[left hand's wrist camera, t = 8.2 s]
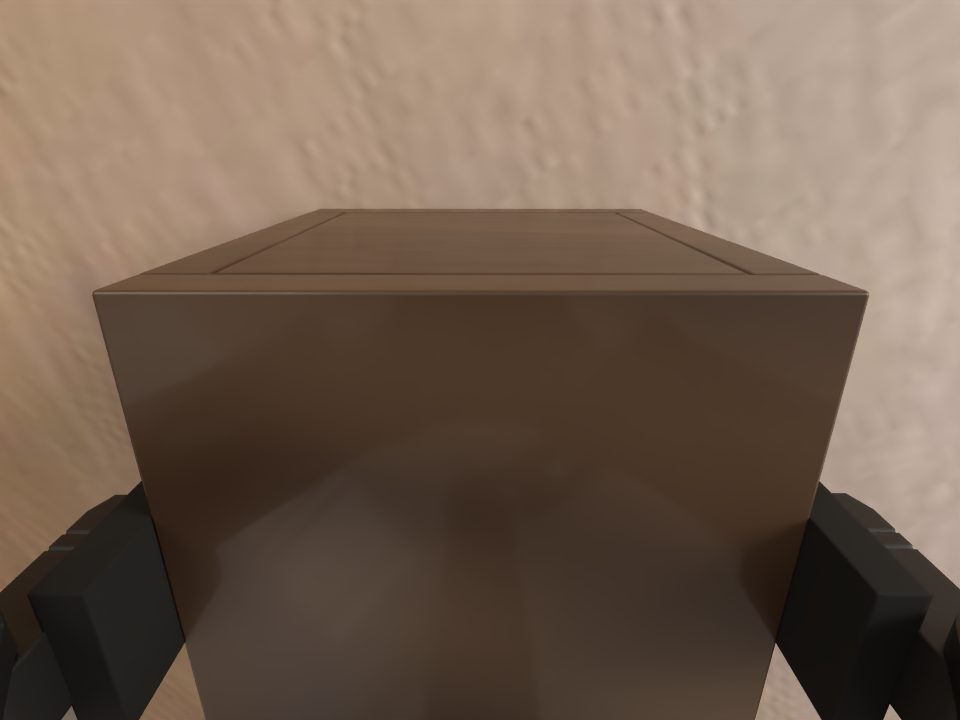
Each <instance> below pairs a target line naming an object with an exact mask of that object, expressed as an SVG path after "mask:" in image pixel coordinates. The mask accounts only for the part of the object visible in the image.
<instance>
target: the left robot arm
mask: <svg viewBox="0 0 960 720" xmlns="http://www.w3.org/2000/svg"><path fill="white" fill-rule="evenodd" d="M184 643H185V640H184V637H183V633H182V629H181V626H180V622H179V618H178V614H177V611H176V607H175V603H174V599H173V596H172V592H171V588H170V584H169V581H168V577H167V573H166V569H165V566H164V562H163V558H162V554H161V551H160V547H159V543H158V539H157V536H156V532H155V528H154V524H153V521H152V517H151V513H150V509H149V506H148V502H147V498H146V494H145V491H144V487H143V483H142V481H141V482H140V483H139V484H138V485H137V486H136V487H135V488H134V489H133V490H132V491H131V492H130V493H129V494H128V495H115V496H113V497H111V498H109V499H108V500H106V501H104V502H103V503H101V504H99V505H97V506H96V507H94V508H92V509H91V510H89V511H87V512H86V513H85V514H84V515H83V516H82V517H81V518H80V519H79V520H78V521H77V522H75V523H74V524H73V525H72V526H71V527H70V528H69V529H68V530H67V533H66V535H62V536H60V537H59V538H58V539H57V540H56V541H55V542H54V543H53V544H52V545H51V546H50V547H49V551H44V552H43V553H42V554H41V555H40V556H39V557H38V558H37V559H36V560H35V561H34V562H33V563H31V564H30V565H29V566H28V567H27V568H26V569H25V570H24V571H23V572H22V573H21V574H20V575H19V576H18V577H16V578H15V579H14V580H13V581H12V582H11V583H10V584H9V585H8V586H7V587H6V588H5V589H4V590H2V591H1V592H0V720H61V719H62V718H63V717H64V715H65V714H66V712H67V711H68V710H69V708H70V707H71V706H72V707H73V710H74V712H75V715H76V717H77V720H139V719H140V717H141V715H142V714H143V712H144V710H145V709H146V707H147V705H148V704H149V702H150V700H151V699H152V697H153V695H154V693H155V692H156V690H157V688H158V687H159V685H160V683H161V682H162V680H163V678H164V677H165V675H166V673H167V672H168V670H169V668H170V667H171V665H172V663H173V661H174V660H175V658H176V656H177V655H178V653H179V651H180V650H181V648H182V646H183V645H184ZM776 644H777V645H778V647H779V649H780V650H781V652H782V654H783V655H784V657H785V659H786V661H787V662H788V664H789V666H790V667H791V669H792V671H793V672H794V674H795V676H796V677H797V679H798V681H799V682H800V684H801V686H802V687H803V689H804V691H805V693H806V694H807V696H808V698H809V699H810V701H811V703H812V704H813V706H814V708H815V709H816V711H817V713H818V714H819V716H820V718H821V719H822V720H883V719H884V717H885V714H886V712H887V709H888V707H889V704H890V705H891V706H892V707H893V709H894V710H895V711H896V713H897V714H898V715H899V717H900V718H901V720H960V589H959V588H958V587H957V586H956V585H955V584H954V583H953V582H952V581H950V580H949V579H948V578H947V577H946V576H945V575H944V574H943V573H942V572H941V571H940V570H939V569H937V568H936V567H935V566H934V565H933V564H932V563H931V562H930V561H929V560H928V559H927V558H926V557H924V556H923V555H922V554H921V553H920V552H919V551H918V550H917V549H913V548H912V544H910V543H909V542H908V541H907V540H906V539H905V538H904V537H903V536H902V535H901V534H900V533H896V532H895V529H894V528H893V527H892V526H891V525H890V524H889V523H888V522H887V521H886V520H885V519H883V518H882V517H881V516H880V515H879V514H878V513H877V512H876V511H875V510H874V509H872V508H870V507H868V506H867V505H865V504H863V503H862V502H860V501H858V500H856V499H855V498H853V497H851V496H849V495H848V494H846V493H831V492H830V491H829V490H828V489H827V488H826V487H825V486H824V485H823V484H822V483H821V482H820V481H819V483H818V487H817V491H816V494H815V498H814V502H813V506H812V509H811V513H810V517H809V520H808V524H807V528H806V532H805V535H804V539H803V543H802V546H801V550H800V554H799V558H798V561H797V565H796V569H795V572H794V576H793V580H792V584H791V587H790V591H789V595H788V598H787V602H786V606H785V610H784V613H783V617H782V621H781V624H780V628H779V632H778V636H777V639H776Z"/></svg>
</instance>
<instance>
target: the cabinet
mask: <svg viewBox="0 0 960 720" xmlns="http://www.w3.org/2000/svg"><path fill="white" fill-rule="evenodd" d="M92 296H93V299H94V303H95V307H96V311H97V314H98V318H99V322H100V326H101V329H102V333H103V337H104V341H105V344H106V348H107V352H108V356H109V359H110V363H111V367H112V371H113V374H114V378H115V382H116V386H117V389H118V393H119V397H120V401H121V404H122V408H123V412H124V416H125V419H126V423H127V427H128V431H129V434H130V438H131V442H132V446H133V449H134V453H135V457H136V461H137V464H138V468H139V472H140V476H141V479H142V483H143V487H144V491H145V494H146V498H147V502H148V506H149V509H150V513H151V517H152V521H153V524H154V528H155V532H156V536H157V539H158V543H159V547H160V551H161V554H162V558H163V562H164V566H165V569H166V573H167V577H168V581H169V584H170V588H171V592H172V596H173V599H174V603H175V607H176V611H177V614H178V618H179V622H180V626H181V629H182V633H183V637H184V640H185V644H186V648H187V652H188V655H189V659H190V663H191V667H192V670H193V674H194V678H195V682H196V685H197V689H198V693H199V697H200V700H201V704H202V708H203V712H204V715H205V719H206V720H755V717H756V714H757V710H758V706H759V702H760V699H761V695H762V691H763V688H764V684H765V680H766V676H767V673H768V669H769V665H770V662H771V658H772V654H773V650H774V647H775V643H776V639H777V636H778V632H779V628H780V624H781V621H782V617H783V613H784V610H785V606H786V602H787V598H788V595H789V591H790V587H791V584H792V580H793V576H794V572H795V569H796V565H797V561H798V558H799V554H800V550H801V546H802V543H803V539H804V535H805V532H806V528H807V524H808V520H809V517H810V513H811V509H812V506H813V502H814V498H815V494H816V491H817V487H818V483H819V480H820V476H821V472H822V468H823V465H824V461H825V457H826V454H827V450H828V446H829V442H830V439H831V435H832V431H833V428H834V424H835V420H836V416H837V413H838V409H839V405H840V402H841V398H842V394H843V390H844V387H845V383H846V379H847V376H848V372H849V368H850V364H851V361H852V357H853V353H854V350H855V346H856V342H857V338H858V335H859V331H860V327H861V324H862V320H863V316H864V312H865V309H866V305H867V301H868V298H869V293H868V292H867V291H865V290H862V289H860V288H857V287H854V286H851V285H849V284H846V283H843V282H840V281H838V280H835V279H832V278H829V277H826V276H824V275H820V274H818V273H815V272H812V271H810V270H807V269H804V268H801V267H799V266H796V265H793V264H790V263H788V262H785V261H782V260H779V259H777V258H774V257H771V256H768V255H766V254H763V253H760V252H757V251H754V250H752V249H749V248H746V247H743V246H741V245H738V244H735V243H732V242H730V241H727V240H724V239H721V238H719V237H716V236H713V235H710V234H707V233H705V232H702V231H699V230H696V229H694V228H691V227H688V226H685V225H683V224H680V223H677V222H674V221H672V220H669V219H666V218H663V217H661V216H658V215H655V214H652V213H649V212H647V211H644V210H641V209H319V210H316V211H314V212H311V213H307V214H304V215H302V216H299V217H296V218H293V219H291V220H288V221H285V222H282V223H279V224H277V225H274V226H271V227H268V228H266V229H263V230H260V231H257V232H254V233H252V234H249V235H246V236H243V237H241V238H238V239H235V240H232V241H230V242H227V243H224V244H221V245H218V246H216V247H213V248H210V249H207V250H205V251H202V252H199V253H196V254H193V255H191V256H188V257H185V258H182V259H180V260H177V261H174V262H171V263H168V264H166V265H163V266H160V267H157V268H155V269H152V270H149V271H146V272H143V273H141V274H140V275H136V276H133V277H131V278H128V279H125V280H122V281H120V282H117V283H114V284H111V285H109V286H106V287H103V288H100V289H97V290H95V291H94V292H93V295H92Z"/></svg>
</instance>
